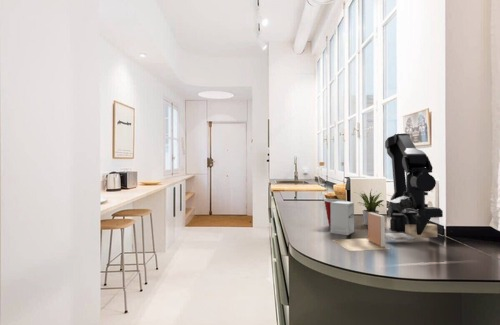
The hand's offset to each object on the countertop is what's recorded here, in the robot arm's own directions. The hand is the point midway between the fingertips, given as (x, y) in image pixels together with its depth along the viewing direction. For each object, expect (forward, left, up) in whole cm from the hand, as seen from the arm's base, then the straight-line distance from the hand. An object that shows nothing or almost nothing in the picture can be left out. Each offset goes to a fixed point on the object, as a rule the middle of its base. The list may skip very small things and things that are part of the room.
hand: (415, 233), depth 106 cm
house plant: (0, -33, -4) cm, 33 cm away
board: (+21, 0, -3) cm, 21 cm away
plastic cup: (+16, -31, -4) cm, 35 cm away
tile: (+15, 0, -3) cm, 15 cm away
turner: (+2, 0, -1) cm, 2 cm away
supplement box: (+19, -18, -4) cm, 26 cm away
